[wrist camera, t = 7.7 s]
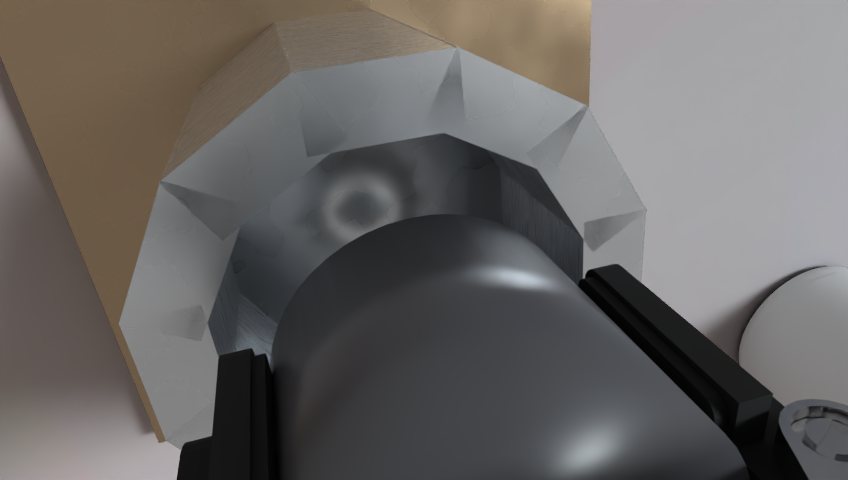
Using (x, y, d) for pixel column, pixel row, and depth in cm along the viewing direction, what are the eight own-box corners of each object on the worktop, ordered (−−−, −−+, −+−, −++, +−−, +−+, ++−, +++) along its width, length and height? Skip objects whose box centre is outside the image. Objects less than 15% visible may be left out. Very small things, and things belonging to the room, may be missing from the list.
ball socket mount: (-41, -82, 16) (-400, -130, 7) (578, -140, 19) (854, -224, 10) (162, 424, 24) (110, 694, 15) (573, 322, 27) (725, 496, 18)
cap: (231, 256, 10) (213, 498, 5) (568, 183, 11) (786, 335, 6) (307, 508, 12) (337, 806, 8) (571, 430, 13) (725, 655, 9)
